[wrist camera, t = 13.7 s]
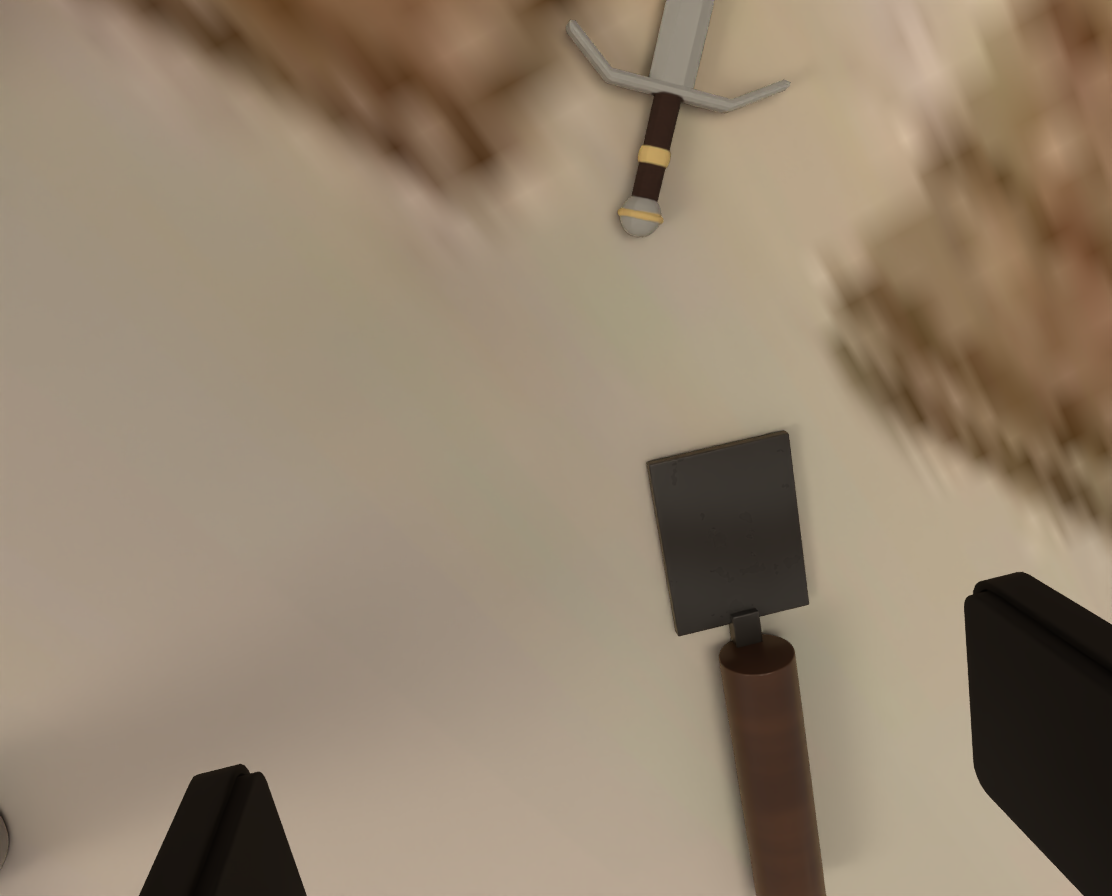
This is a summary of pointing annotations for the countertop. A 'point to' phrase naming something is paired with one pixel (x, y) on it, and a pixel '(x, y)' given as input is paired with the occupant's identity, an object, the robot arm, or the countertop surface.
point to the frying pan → (665, 99)
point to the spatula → (748, 633)
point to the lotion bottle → (3, 842)
